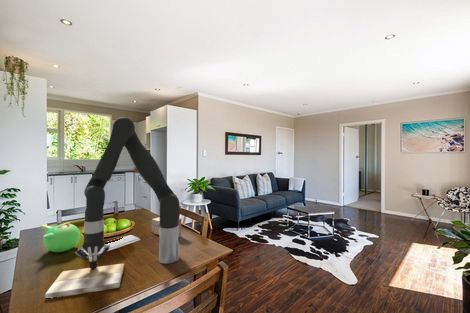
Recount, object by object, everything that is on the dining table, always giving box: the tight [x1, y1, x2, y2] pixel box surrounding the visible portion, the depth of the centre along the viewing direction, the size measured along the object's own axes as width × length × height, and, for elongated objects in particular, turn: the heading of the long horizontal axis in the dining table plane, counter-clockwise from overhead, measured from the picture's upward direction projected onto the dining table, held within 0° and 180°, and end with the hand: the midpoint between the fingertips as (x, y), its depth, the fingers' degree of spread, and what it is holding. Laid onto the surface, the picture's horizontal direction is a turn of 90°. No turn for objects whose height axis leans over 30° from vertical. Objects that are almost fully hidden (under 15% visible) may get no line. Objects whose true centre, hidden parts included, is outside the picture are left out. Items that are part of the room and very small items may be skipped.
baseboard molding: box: [74, 234, 141, 259], centre depth 127 cm, size 31×3×12 cm
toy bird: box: [39, 222, 81, 253], centre depth 121 cm, size 18×17×15 cm
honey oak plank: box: [54, 263, 125, 282], centre depth 97 cm, size 24×8×2 cm, turn 110°
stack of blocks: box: [150, 216, 183, 238], centre depth 147 cm, size 21×6×12 cm, turn 59°
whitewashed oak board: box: [44, 272, 123, 299], centre depth 89 cm, size 24×8×2 cm, turn 110°
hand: (93, 268), depth 100 cm, fingers closed
